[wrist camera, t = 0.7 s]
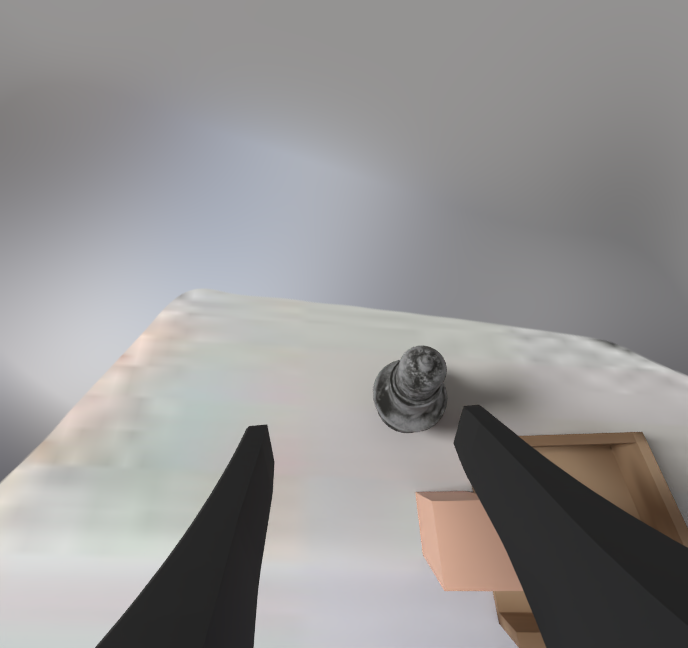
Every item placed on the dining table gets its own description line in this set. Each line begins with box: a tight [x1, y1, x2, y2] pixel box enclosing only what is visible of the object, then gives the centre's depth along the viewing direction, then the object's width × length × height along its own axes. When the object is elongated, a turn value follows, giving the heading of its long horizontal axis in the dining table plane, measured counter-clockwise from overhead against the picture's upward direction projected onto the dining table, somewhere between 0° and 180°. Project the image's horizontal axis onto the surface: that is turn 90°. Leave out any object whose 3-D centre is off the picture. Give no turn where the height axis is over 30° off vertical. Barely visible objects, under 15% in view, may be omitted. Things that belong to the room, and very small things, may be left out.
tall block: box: [416, 491, 523, 591], centre depth 19 cm, size 4×4×7 cm
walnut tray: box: [472, 432, 688, 648], centre depth 20 cm, size 11×12×3 cm
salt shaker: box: [373, 346, 447, 433], centre depth 21 cm, size 6×6×12 cm
